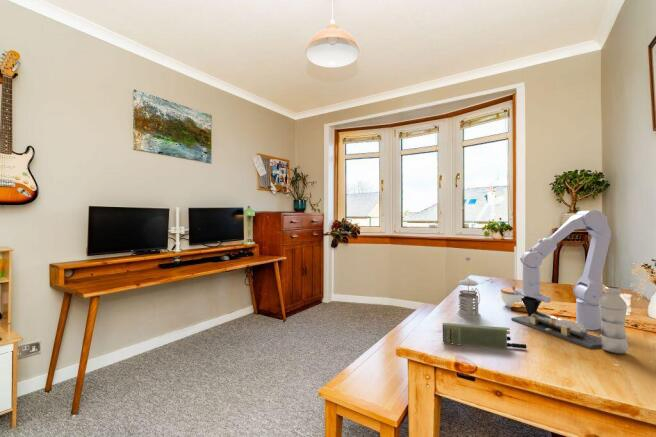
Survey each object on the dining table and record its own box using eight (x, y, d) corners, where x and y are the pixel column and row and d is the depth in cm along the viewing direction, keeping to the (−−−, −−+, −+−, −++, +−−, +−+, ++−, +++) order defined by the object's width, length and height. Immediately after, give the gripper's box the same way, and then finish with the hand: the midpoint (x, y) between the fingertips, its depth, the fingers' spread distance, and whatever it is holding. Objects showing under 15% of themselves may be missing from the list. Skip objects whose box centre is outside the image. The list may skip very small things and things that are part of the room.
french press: (472, 310, 144) (471, 255, 144) (489, 318, 132) (488, 258, 132) (452, 311, 142) (451, 255, 142) (467, 320, 131) (466, 259, 131)
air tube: (530, 320, 125) (531, 310, 125) (538, 321, 126) (539, 310, 126) (578, 337, 107) (579, 325, 108) (587, 337, 109) (588, 325, 109)
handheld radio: (442, 340, 110) (524, 348, 103) (443, 344, 107) (527, 352, 100) (442, 321, 110) (524, 327, 103) (442, 325, 107) (527, 331, 100)
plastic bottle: (631, 358, 94) (630, 290, 94) (601, 353, 98) (600, 288, 98) (625, 350, 100) (624, 286, 100) (597, 345, 103) (596, 284, 103)
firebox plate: (530, 317, 133) (530, 307, 133) (612, 345, 104) (612, 332, 104) (511, 320, 130) (511, 310, 130) (590, 349, 101) (590, 336, 101)
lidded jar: (518, 303, 154) (517, 283, 154) (532, 309, 144) (532, 288, 144) (496, 303, 154) (495, 284, 154) (509, 310, 143) (509, 289, 143)
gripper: (508, 279, 132) (508, 312, 132) (540, 286, 118) (540, 323, 118) (521, 278, 134) (521, 310, 134) (554, 285, 120) (555, 321, 120)
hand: (531, 316), depth 127 cm, fingers closed
